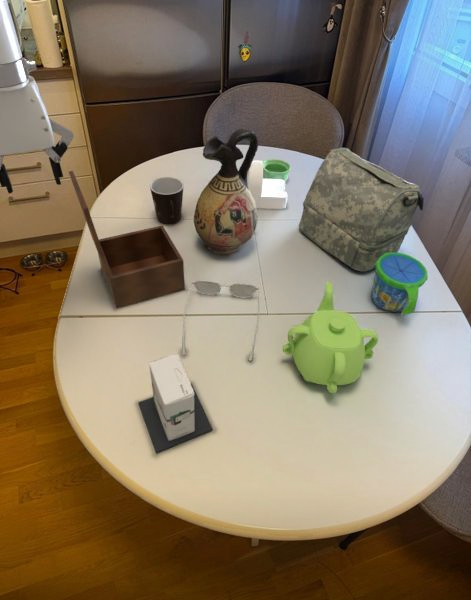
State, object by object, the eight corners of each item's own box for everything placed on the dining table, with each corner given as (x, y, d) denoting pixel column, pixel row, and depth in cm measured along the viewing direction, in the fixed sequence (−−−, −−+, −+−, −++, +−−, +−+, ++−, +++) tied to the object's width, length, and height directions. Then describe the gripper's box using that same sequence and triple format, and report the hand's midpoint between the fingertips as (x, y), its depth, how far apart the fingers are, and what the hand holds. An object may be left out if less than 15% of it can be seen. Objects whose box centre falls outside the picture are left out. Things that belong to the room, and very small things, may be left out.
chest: (165, 254, 103) (162, 225, 97) (184, 289, 95) (183, 260, 89) (101, 270, 98) (94, 240, 92) (116, 309, 90) (109, 278, 83)
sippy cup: (421, 327, 91) (440, 294, 83) (373, 326, 90) (388, 293, 83) (399, 278, 101) (414, 245, 94) (357, 277, 101) (368, 244, 94)
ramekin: (258, 171, 135) (259, 158, 132) (285, 171, 136) (287, 158, 133) (262, 186, 129) (264, 173, 126) (291, 185, 130) (293, 172, 127)
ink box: (152, 400, 74) (146, 360, 66) (179, 390, 76) (176, 350, 67) (168, 442, 69) (163, 405, 60) (196, 431, 70) (195, 393, 62)
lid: (72, 170, 79) (68, 171, 79) (87, 207, 71) (83, 208, 71) (96, 237, 92) (92, 239, 91) (111, 276, 83) (107, 277, 83)
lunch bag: (409, 259, 107) (444, 182, 92) (359, 283, 100) (388, 204, 84) (339, 209, 122) (359, 135, 106) (291, 227, 114) (305, 151, 99)
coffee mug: (158, 207, 118) (155, 175, 110) (188, 211, 117) (186, 179, 110) (146, 231, 109) (142, 198, 102) (178, 235, 109) (176, 202, 102)
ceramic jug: (207, 270, 100) (208, 150, 79) (186, 233, 110) (181, 118, 88) (270, 254, 106) (287, 138, 84) (244, 221, 115) (253, 109, 94)
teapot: (267, 351, 84) (274, 308, 75) (317, 321, 90) (329, 278, 81) (325, 410, 75) (340, 369, 66) (375, 372, 81) (396, 330, 72)
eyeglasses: (258, 297, 94) (260, 284, 91) (255, 362, 82) (257, 349, 79) (190, 291, 94) (190, 278, 92) (177, 355, 82) (176, 342, 79)
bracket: (282, 190, 128) (287, 155, 119) (286, 209, 120) (292, 172, 112) (220, 188, 127) (221, 152, 118) (220, 207, 119) (221, 170, 111)
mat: (156, 453, 68) (155, 452, 67) (138, 404, 74) (138, 402, 73) (212, 430, 71) (212, 428, 71) (191, 384, 77) (191, 382, 77)
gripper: (57, 59, 64) (82, 166, 77) (-73, 69, 58) (-23, 183, 71) (66, 75, 59) (90, 186, 72) (-74, 87, 54) (-21, 206, 66)
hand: (34, 184), depth 71 cm, fingers open, 7 cm apart
